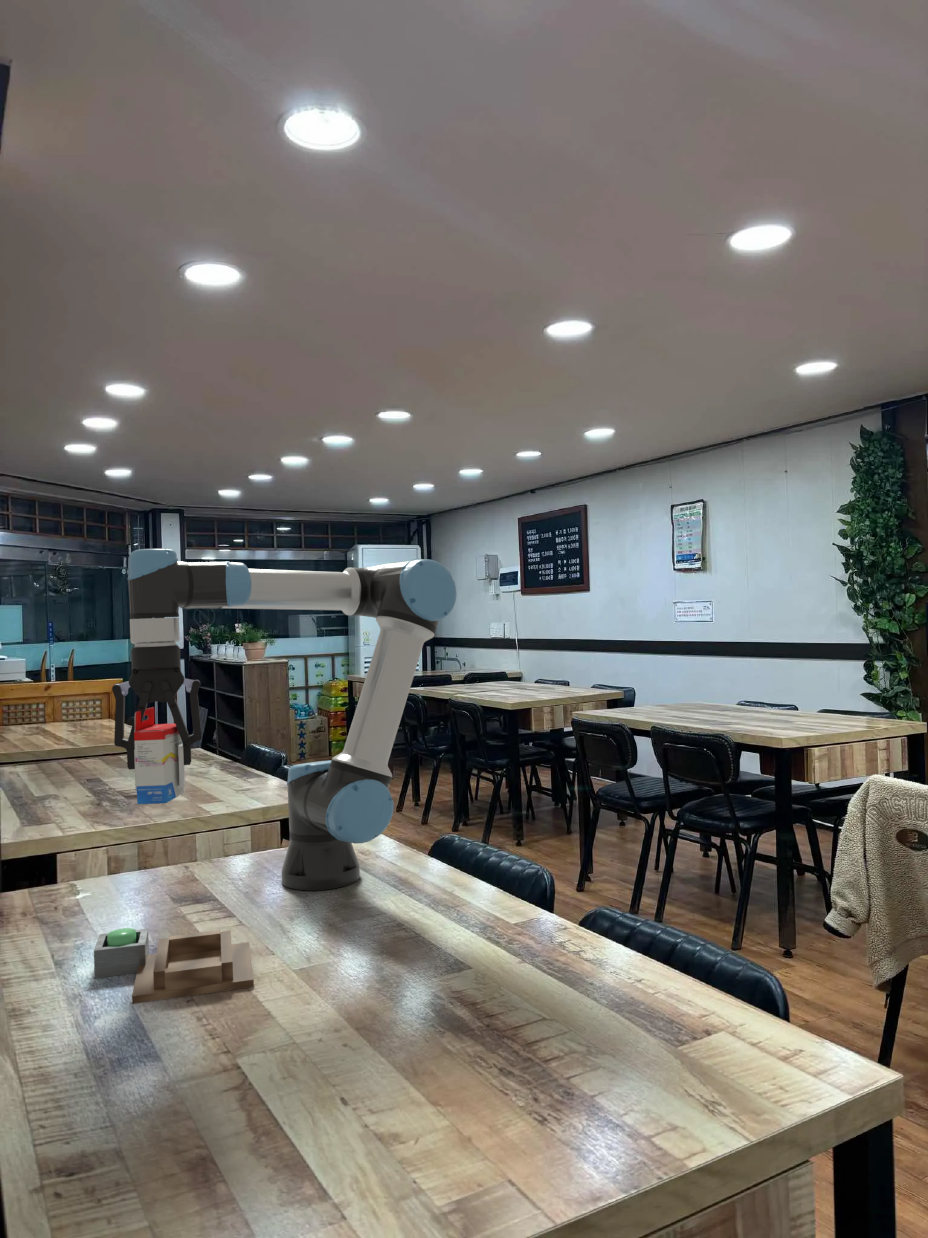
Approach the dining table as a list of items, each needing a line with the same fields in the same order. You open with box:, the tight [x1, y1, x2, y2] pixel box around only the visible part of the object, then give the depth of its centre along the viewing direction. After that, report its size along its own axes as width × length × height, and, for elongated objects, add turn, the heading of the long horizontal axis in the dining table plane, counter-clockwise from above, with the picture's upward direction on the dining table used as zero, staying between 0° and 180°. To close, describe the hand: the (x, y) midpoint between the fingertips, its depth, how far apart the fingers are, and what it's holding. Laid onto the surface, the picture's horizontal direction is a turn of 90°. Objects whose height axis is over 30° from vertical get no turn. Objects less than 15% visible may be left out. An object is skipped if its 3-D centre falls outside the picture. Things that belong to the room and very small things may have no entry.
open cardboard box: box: [131, 929, 255, 1005], centre depth 129 cm, size 16×15×4 cm
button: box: [106, 927, 137, 947], centre depth 133 cm, size 4×4×3 cm
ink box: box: [133, 706, 185, 805], centre depth 144 cm, size 8×5×15 cm, turn 179°
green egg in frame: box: [93, 928, 150, 979], centre depth 133 cm, size 7×7×4 cm
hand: (160, 787), depth 144 cm, fingers closed on ink box, 6 cm apart
